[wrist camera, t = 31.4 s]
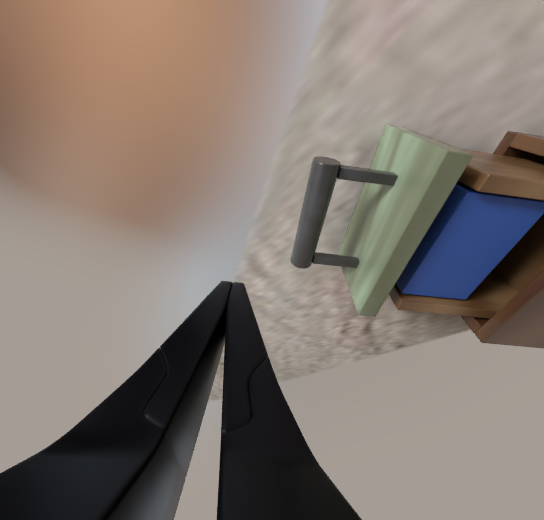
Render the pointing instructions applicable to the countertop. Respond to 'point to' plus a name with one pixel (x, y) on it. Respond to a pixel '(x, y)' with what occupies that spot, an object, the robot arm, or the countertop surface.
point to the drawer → (417, 220)
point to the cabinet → (536, 294)
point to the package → (467, 242)
